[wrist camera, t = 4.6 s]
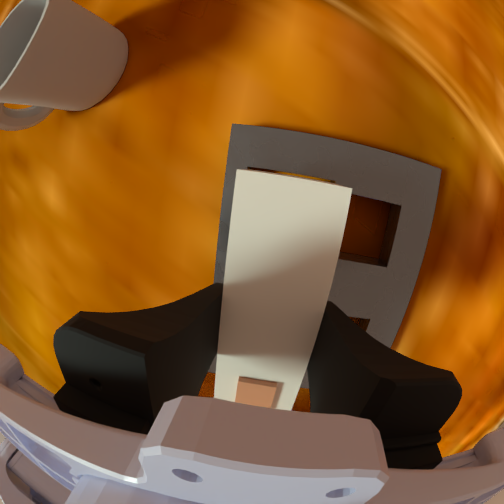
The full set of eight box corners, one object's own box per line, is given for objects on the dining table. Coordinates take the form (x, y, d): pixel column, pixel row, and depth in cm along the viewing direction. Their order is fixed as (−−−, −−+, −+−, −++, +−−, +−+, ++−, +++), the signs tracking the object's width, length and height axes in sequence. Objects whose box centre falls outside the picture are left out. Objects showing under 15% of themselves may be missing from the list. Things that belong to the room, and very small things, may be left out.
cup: (148, 57, 14) (63, 5, 5) (63, 157, 16) (-29, 165, 8) (108, 18, 12) (39, -23, 4) (36, 106, 15) (-40, 102, 7)
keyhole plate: (364, 378, 18) (368, 392, 17) (212, 358, 19) (207, 371, 18) (428, 168, 13) (441, 169, 12) (237, 128, 14) (232, 123, 13)
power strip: (288, 363, 16) (285, 429, 11) (231, 353, 16) (211, 416, 11) (328, 181, 12) (354, 189, 7) (255, 169, 13) (235, 169, 8)
